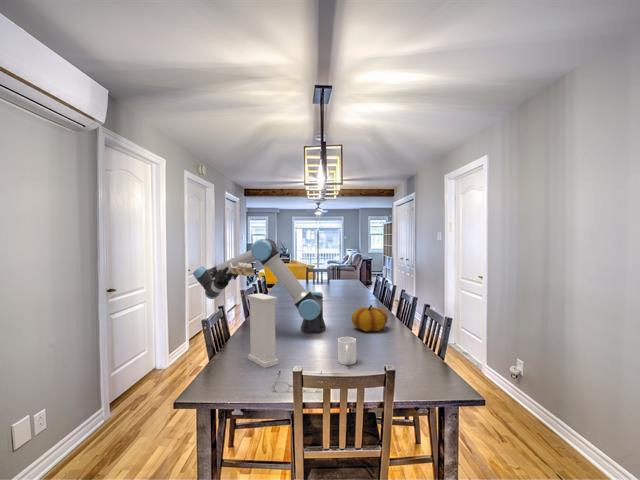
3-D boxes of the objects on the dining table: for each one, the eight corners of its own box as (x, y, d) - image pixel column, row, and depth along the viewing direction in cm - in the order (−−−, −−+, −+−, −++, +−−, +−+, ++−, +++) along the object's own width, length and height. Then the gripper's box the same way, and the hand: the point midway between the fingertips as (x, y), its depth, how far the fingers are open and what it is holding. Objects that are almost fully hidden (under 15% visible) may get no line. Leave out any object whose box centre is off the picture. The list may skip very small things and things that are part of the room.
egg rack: (254, 275, 169) (254, 263, 169) (246, 276, 166) (246, 263, 166) (232, 271, 187) (232, 260, 187) (225, 272, 185) (225, 261, 185)
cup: (356, 358, 162) (355, 336, 162) (356, 368, 150) (356, 345, 150) (338, 358, 163) (338, 336, 163) (337, 368, 151) (337, 344, 151)
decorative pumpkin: (370, 323, 226) (370, 299, 226) (395, 330, 207) (394, 305, 207) (345, 328, 215) (345, 303, 215) (369, 336, 196) (368, 310, 196)
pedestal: (278, 363, 157) (277, 297, 156) (264, 367, 152) (263, 299, 152) (261, 355, 168) (260, 293, 168) (248, 358, 164) (247, 295, 163)
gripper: (235, 287, 200) (252, 270, 184) (206, 291, 189) (221, 272, 173) (232, 276, 203) (248, 257, 187) (203, 278, 192) (218, 259, 176)
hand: (235, 265), depth 180 cm, fingers closed on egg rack, 4 cm apart
